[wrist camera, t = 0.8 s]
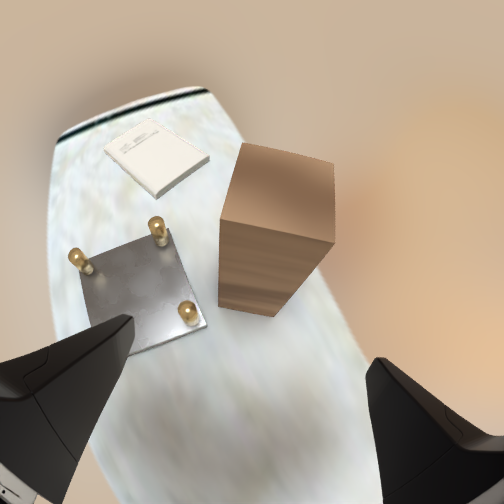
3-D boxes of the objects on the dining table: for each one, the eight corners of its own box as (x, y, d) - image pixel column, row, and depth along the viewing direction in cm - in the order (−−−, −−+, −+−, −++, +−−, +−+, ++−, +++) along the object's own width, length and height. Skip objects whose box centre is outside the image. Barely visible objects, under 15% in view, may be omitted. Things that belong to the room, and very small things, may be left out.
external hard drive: (157, 202, 28) (105, 154, 31) (209, 163, 32) (151, 125, 34) (155, 193, 27) (102, 146, 30) (209, 154, 30) (150, 116, 33)
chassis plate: (206, 326, 23) (204, 316, 19) (106, 363, 20) (86, 359, 16) (169, 233, 26) (163, 210, 23) (82, 267, 23) (64, 249, 20)
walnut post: (273, 317, 24) (335, 243, 11) (218, 306, 24) (220, 218, 11) (280, 267, 26) (333, 163, 14) (229, 256, 26) (242, 142, 13)
